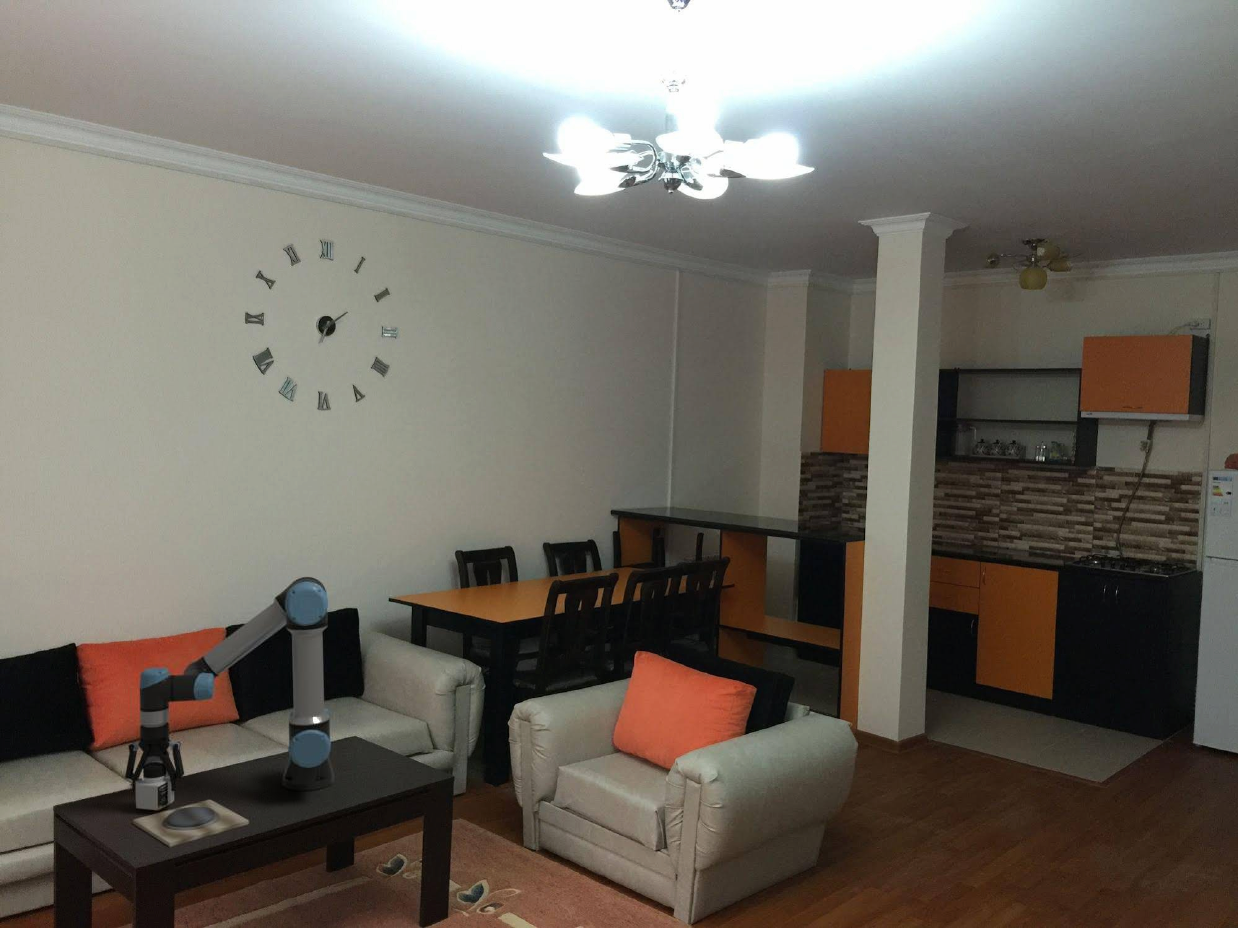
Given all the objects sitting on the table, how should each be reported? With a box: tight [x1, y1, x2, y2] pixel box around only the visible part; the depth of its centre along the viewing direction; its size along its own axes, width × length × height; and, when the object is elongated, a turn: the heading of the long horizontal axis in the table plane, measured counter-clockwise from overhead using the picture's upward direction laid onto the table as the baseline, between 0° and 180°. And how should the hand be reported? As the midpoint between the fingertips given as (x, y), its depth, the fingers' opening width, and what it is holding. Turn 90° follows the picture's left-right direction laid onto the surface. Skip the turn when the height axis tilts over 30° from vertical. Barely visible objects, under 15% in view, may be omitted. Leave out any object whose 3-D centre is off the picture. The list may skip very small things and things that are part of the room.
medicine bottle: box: [135, 761, 170, 811], centre depth 292 cm, size 7×7×12 cm
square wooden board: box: [132, 799, 250, 848], centre depth 283 cm, size 22×22×2 cm
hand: (155, 801), depth 293 cm, fingers closed on medicine bottle, 8 cm apart
